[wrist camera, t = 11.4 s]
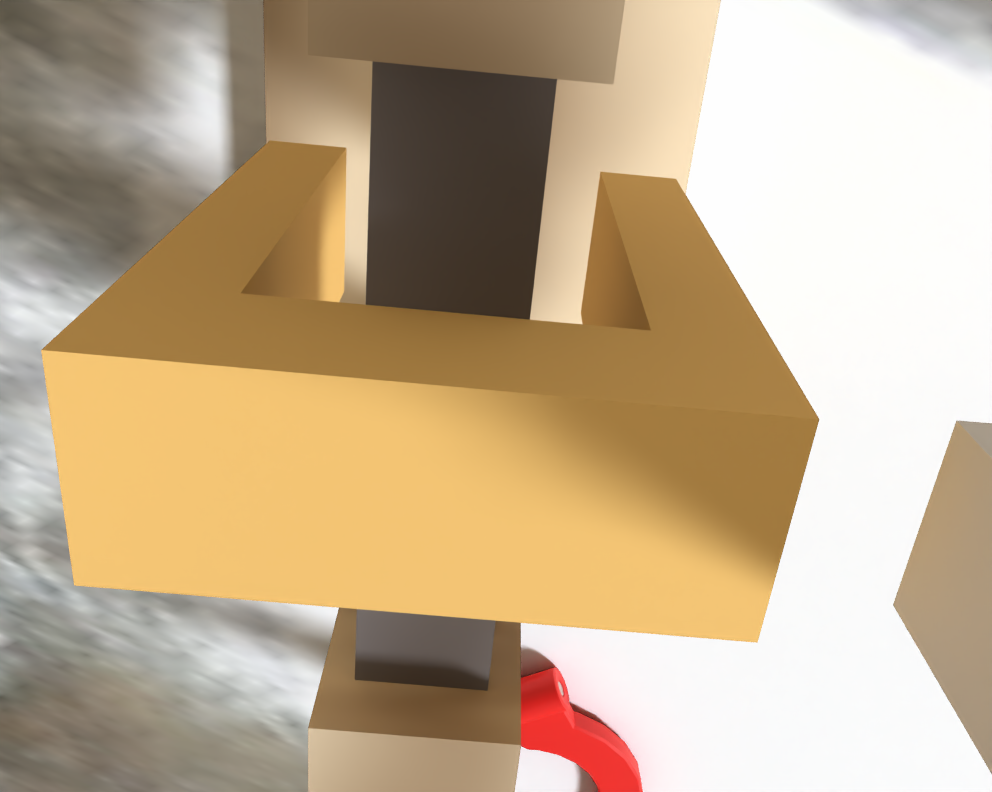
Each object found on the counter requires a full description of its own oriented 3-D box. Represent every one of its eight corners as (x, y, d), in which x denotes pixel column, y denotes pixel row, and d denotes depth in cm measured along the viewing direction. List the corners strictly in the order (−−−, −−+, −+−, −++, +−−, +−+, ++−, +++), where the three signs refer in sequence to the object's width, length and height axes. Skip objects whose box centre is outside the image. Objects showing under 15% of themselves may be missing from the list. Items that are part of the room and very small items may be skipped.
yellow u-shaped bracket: (272, 284, 20) (74, 585, 11) (269, 140, 19) (41, 349, 10) (651, 319, 20) (757, 642, 11) (675, 178, 19) (818, 419, 10)
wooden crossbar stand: (281, 419, 27) (80, 852, 15) (272, -196, 20) (-117, -367, 8) (630, 450, 27) (724, 901, 15) (736, -149, 21) (1076, -244, 8)
